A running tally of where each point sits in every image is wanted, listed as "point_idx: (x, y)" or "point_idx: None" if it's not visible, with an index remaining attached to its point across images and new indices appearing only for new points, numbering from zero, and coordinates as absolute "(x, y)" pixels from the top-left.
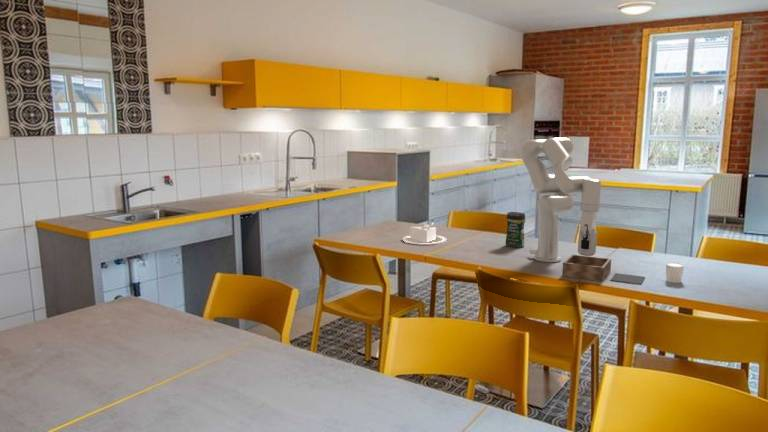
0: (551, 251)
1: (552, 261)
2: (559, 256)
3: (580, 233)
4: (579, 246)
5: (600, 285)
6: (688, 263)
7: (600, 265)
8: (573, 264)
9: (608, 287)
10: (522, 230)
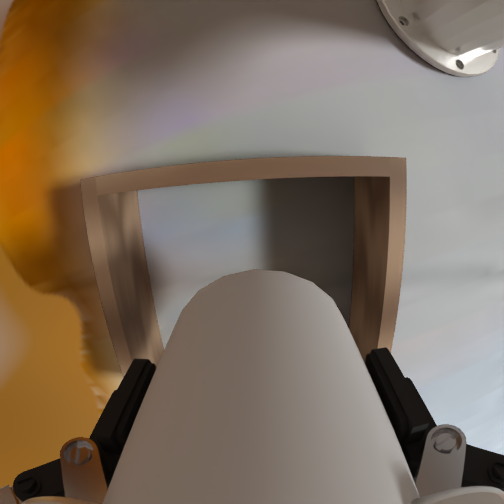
0: (440, 5)
1: (399, 33)
2: (491, 66)
3: (111, 497)
4: (176, 337)
5: (98, 372)
6: (497, 452)
7: (358, 343)
8: (93, 260)
9: (97, 397)
10: None
